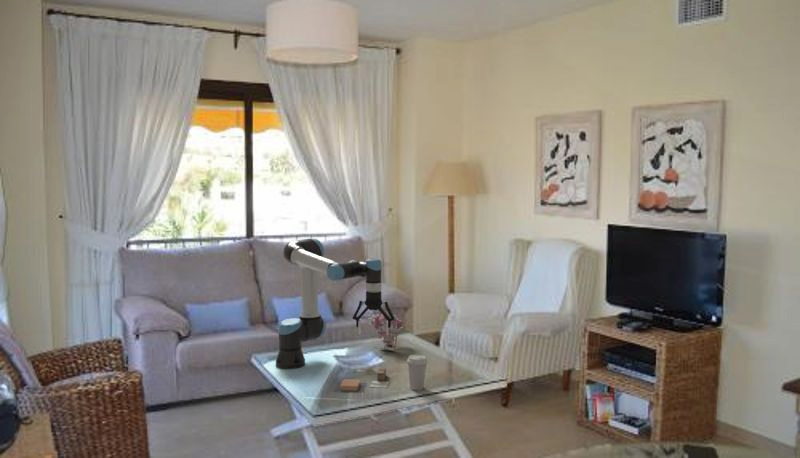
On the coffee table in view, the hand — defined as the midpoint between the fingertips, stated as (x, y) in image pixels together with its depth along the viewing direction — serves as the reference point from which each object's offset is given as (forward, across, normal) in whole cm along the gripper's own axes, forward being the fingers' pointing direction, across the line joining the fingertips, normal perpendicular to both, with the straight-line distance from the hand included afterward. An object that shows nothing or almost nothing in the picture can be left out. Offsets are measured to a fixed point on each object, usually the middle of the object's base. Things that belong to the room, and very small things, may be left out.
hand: (373, 334), depth 325 cm
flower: (+23, +1, +55) cm, 60 cm away
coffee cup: (+23, +22, -10) cm, 33 cm away
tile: (+21, -9, -10) cm, 25 cm away
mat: (+23, -9, -14) cm, 28 cm away
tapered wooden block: (+23, +4, -5) cm, 24 cm away
